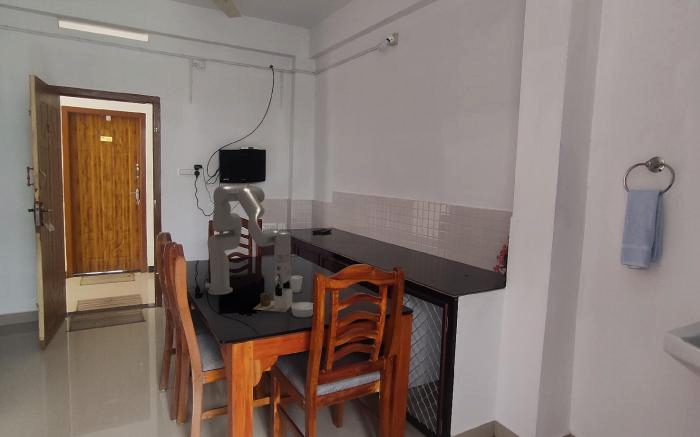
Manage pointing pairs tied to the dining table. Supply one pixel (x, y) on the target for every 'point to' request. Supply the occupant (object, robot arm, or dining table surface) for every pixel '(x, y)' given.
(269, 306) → the post board
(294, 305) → the ramekin
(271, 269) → the dining table surface
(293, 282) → the cup
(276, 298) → the matte grey cube
